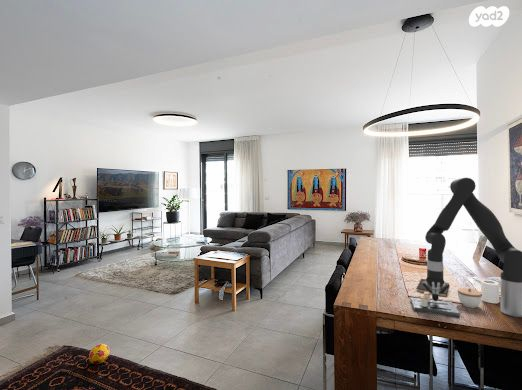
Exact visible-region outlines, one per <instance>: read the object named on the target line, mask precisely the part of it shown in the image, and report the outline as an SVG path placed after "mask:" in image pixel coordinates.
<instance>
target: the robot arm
mask: <svg viewBox="0 0 522 390" xmlns="http://www.w3.org/2000/svg"><path fill="white" fill-rule="evenodd" d="M476 186H477V185H476V182H475V180H474V179H472V178H471V177H460V178H457V179H454V180H453V181H451V183H450V185H449V188H450V190H451V193H452V194H453V195H452V197H451V198H450V200H449V201H448V202H447V204H446V205H445V206H444V208H443V209H442V210H441V211H440V212H439V215H438V216H437V218H436V220H435V222H434V224H433V225H432V226H430V228H429V229H428V231H426V234H425V241H426V242H427V244H430V245H431V246H430V247H431V248H430V249H428V250H427V260H426V261H427V262H426V278H425V279H426V281H424V282H422V284H423V285H424V287H425V288H426V289H427V290H428V291H429V292H430V293H432V294H431V300H434V301H439V296H440V295H439V294H442V293H443V292H444V291H445V290H446V289H447V288H448V287H449V288H450V284H449V285H448V284H446V283H447V282H446V281H445V280H444V269H445V268H444V262H443V261H444V260H443V259H444V255H443V254H444V251H445V247H446V237H445V236H444V234H443V233H444V232H445V231H449V229H450V228H451V227H452V224H453V222H454V220H455V218H456V216H458V213H459V212H460V210H461V209H462V207H464V209H465V210H466V212H467V213H468V214H469V216H470V218H471V219H472V220H473V222H474V223H475V225H476V226H477V227H478V229H479V231H480V232H481V233H482V234H483V235H484V237H485V238H486V239H487V241H488V242H489V243H490V245H491V246H492V248H493V249H494V251H495V253H496V255H497V257H498V259H499V260H500V261H501V262H502V263H503V269H502V270H503V271H502V272H500V312H501V313H503V314H505V315H508V316H510V317H516V318H522V251H521V250H519V249H517V248H516V247H515V246H514V245H513V244H512V243H511V242H510V241H509V239H508V238H507V236H506V234H505V232H504V230H503V226H502V225H501V221H499V219H498V218H497V216H496V215H495V213H494V212H493V210H491V209H490V208H489V207H488V206H486V205H485V204H484V203H482V202H481V201H480V200H479V199H478V198H477V197H476V195H475V194H474V193H473V192H474V191H475V190H476ZM445 282H446V283H445ZM427 283H428V284H429V285H430V286H431V289H429V287H428V286H427ZM442 285H443V287H442V288H441V289H440V290H439V288H440V287H441V286H442Z"/></svg>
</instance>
